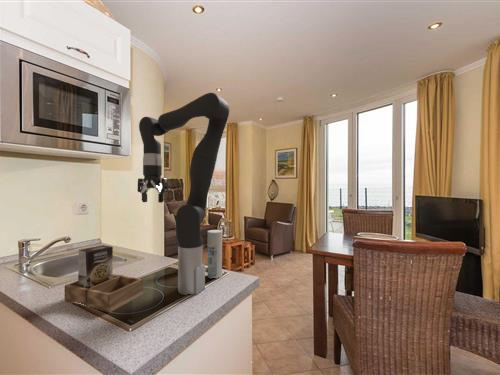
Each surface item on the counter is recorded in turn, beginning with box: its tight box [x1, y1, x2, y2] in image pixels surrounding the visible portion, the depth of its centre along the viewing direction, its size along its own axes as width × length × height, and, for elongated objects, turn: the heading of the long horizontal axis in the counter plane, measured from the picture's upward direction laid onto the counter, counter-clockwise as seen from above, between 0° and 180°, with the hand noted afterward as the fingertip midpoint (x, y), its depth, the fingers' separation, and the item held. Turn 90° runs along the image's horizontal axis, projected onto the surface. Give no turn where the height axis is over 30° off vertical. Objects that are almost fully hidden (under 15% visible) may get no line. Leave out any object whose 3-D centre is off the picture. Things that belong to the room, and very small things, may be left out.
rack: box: [64, 273, 144, 313], centre depth 87 cm, size 21×14×6 cm, turn 70°
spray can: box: [207, 229, 223, 279], centre depth 108 cm, size 6×6×20 cm
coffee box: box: [77, 244, 114, 289], centre depth 88 cm, size 9×6×16 cm
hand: (152, 202), depth 105 cm, fingers open, 8 cm apart
